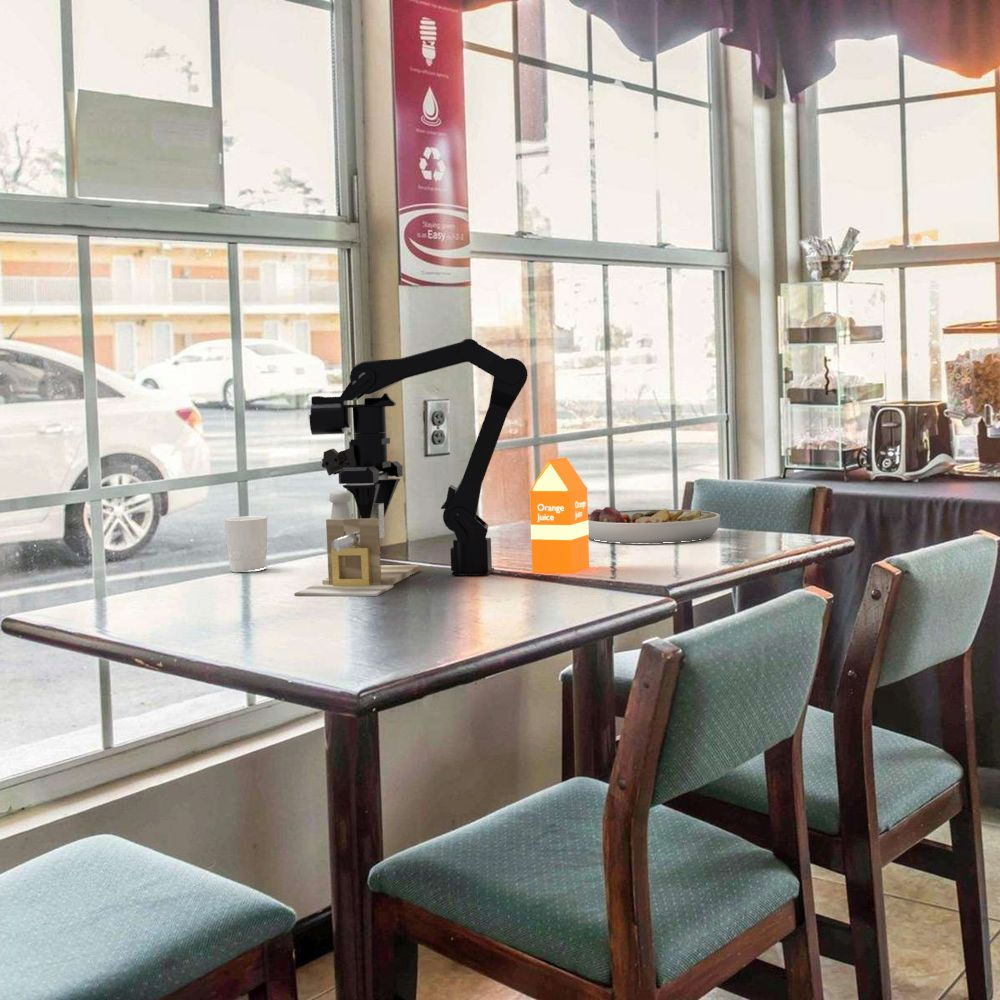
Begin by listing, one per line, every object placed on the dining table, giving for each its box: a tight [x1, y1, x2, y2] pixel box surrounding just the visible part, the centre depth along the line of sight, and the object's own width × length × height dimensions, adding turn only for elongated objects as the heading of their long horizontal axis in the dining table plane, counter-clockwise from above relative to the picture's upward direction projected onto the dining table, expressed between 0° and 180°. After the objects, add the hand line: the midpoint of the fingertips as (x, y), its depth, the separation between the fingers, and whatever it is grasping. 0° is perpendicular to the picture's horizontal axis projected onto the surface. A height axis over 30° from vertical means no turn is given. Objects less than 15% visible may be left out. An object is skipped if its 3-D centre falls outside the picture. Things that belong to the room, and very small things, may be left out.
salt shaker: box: [328, 489, 355, 547], centre depth 265 cm, size 6×6×13 cm
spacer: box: [331, 547, 372, 586], centre depth 217 cm, size 2×6×6 cm, turn 78°
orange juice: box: [529, 456, 590, 575], centre depth 230 cm, size 8×9×20 cm
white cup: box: [224, 515, 268, 574], centre depth 243 cm, size 8×8×10 cm
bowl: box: [588, 506, 721, 543], centre depth 277 cm, size 30×30×8 cm
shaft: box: [331, 503, 386, 551], centre depth 220 cm, size 21×3×6 cm, turn 168°
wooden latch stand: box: [293, 518, 421, 597], centre depth 222 cm, size 29×14×12 cm, turn 168°
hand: (373, 520), depth 229 cm, fingers open, 8 cm apart
